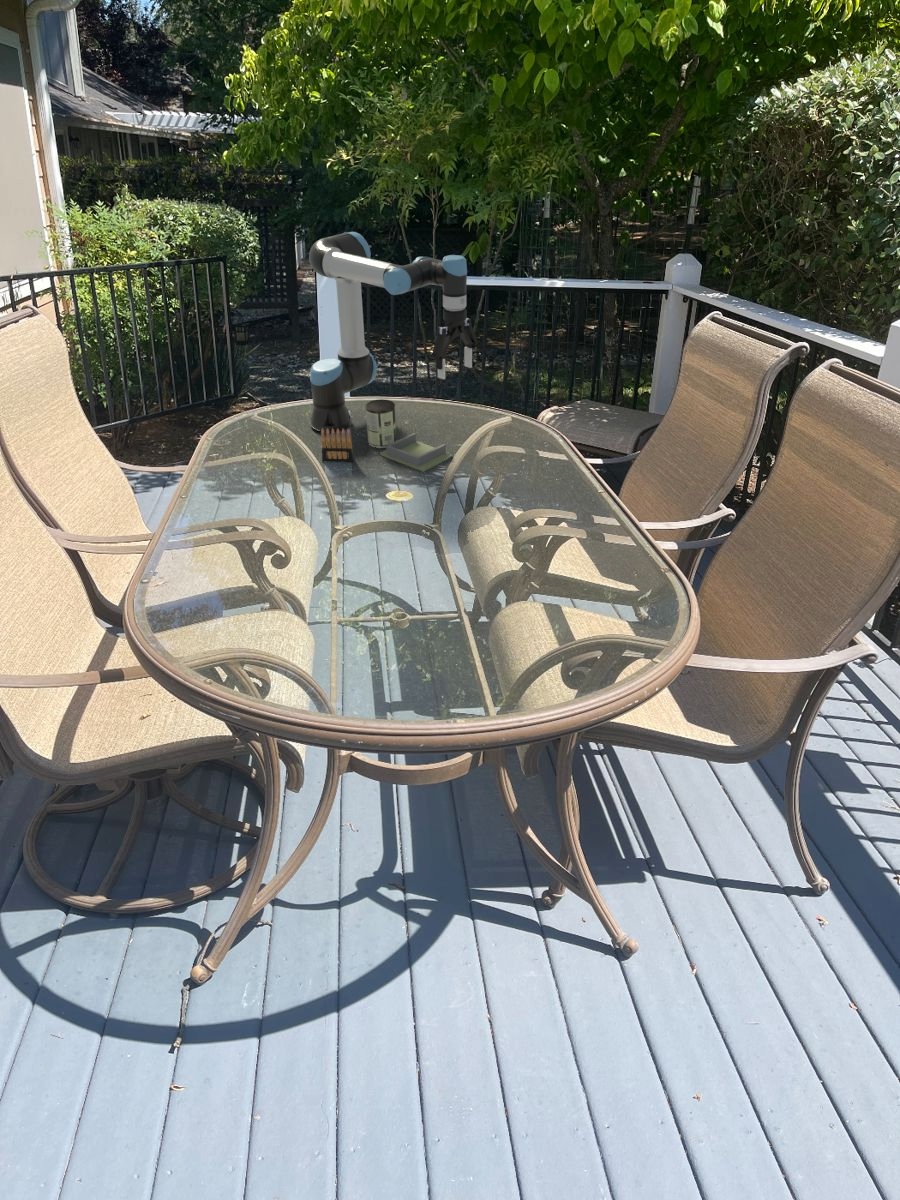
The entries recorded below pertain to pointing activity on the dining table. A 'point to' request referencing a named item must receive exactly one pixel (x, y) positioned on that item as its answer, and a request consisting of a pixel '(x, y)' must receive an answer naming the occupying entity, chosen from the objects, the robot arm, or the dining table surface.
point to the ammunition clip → (336, 447)
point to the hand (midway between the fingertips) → (455, 372)
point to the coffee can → (381, 423)
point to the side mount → (415, 453)
